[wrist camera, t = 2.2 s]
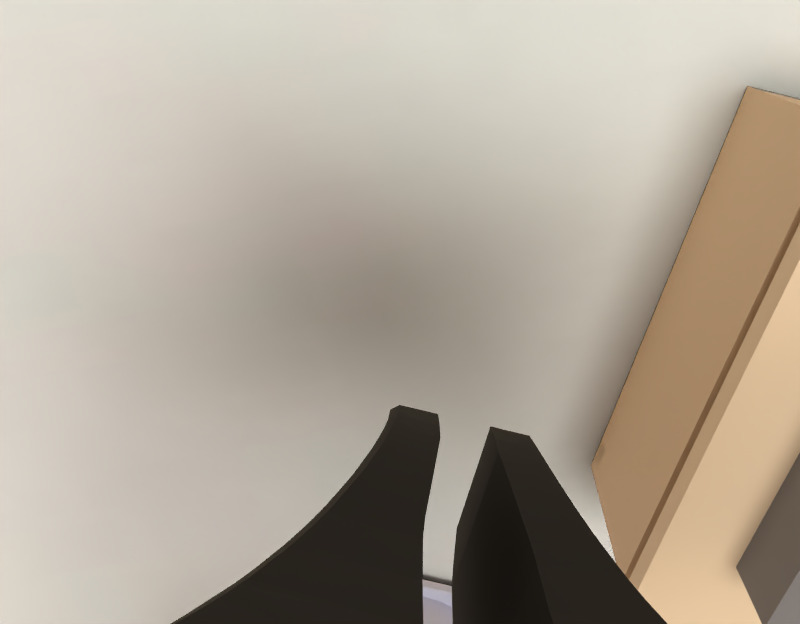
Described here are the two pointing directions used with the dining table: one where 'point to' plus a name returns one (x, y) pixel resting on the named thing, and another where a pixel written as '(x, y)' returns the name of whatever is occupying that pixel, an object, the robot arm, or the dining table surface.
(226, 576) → the dining table surface
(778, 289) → the lid
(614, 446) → the box
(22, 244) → the dining table surface
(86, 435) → the dining table surface
